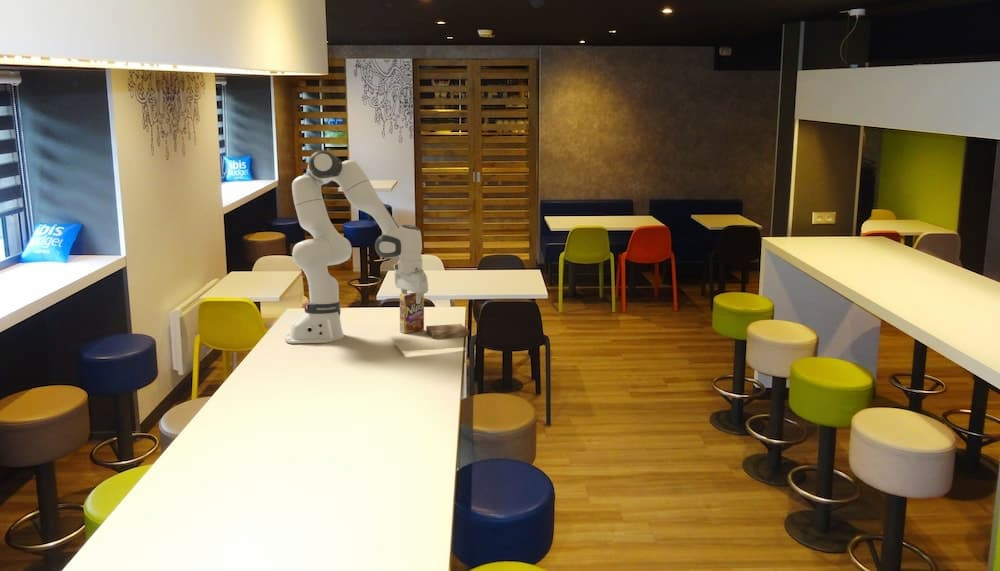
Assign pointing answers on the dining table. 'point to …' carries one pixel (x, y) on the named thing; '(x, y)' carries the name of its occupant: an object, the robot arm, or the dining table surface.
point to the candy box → (411, 313)
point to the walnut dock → (447, 331)
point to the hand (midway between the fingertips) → (411, 301)
